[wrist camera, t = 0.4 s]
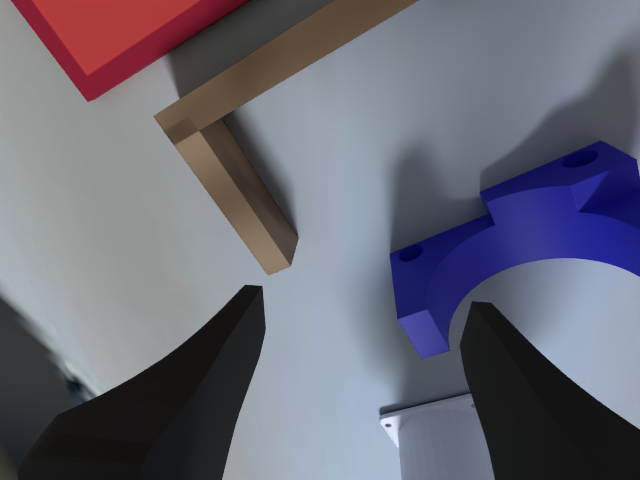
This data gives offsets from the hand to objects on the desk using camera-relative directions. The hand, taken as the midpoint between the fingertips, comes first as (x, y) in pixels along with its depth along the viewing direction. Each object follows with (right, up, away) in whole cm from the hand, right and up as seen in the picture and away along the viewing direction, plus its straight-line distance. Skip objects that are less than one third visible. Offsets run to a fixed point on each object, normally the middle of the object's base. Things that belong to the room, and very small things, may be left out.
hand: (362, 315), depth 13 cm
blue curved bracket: (+8, +4, +9) cm, 13 cm away
